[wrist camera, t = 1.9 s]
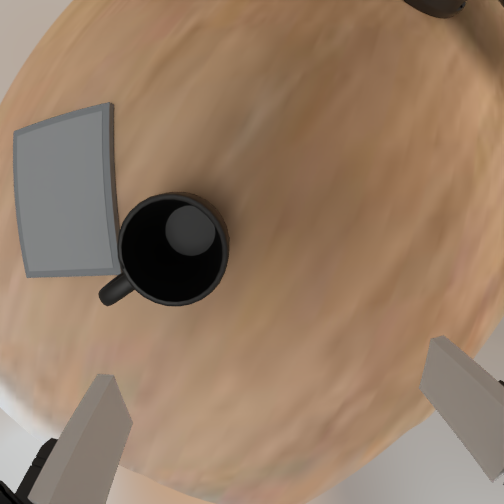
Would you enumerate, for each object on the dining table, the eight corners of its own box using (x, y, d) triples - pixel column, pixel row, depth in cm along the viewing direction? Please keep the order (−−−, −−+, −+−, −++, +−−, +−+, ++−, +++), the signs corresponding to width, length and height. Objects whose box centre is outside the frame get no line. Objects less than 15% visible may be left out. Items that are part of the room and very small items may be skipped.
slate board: (19, 132, 25) (13, 131, 24) (113, 104, 26) (109, 102, 25) (31, 274, 30) (26, 277, 28) (125, 271, 30) (121, 274, 29)
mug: (110, 237, 29) (65, 260, 20) (203, 173, 28) (187, 170, 19) (152, 300, 31) (123, 344, 22) (246, 244, 30) (250, 272, 21)
